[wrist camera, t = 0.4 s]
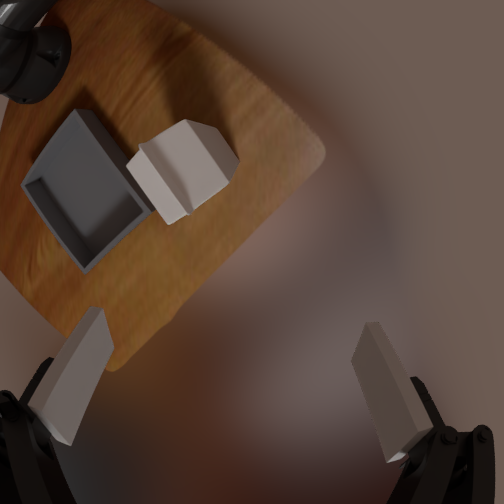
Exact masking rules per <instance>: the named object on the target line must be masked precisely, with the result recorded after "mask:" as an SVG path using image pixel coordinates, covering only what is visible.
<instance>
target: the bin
mask: <svg viewBox="0 0 504 504" xmlns="http://www.w3.org/2000/svg"><path fill="white" fill-rule="evenodd" d="M128 163H129V159H128V158H127V157H126V155H125V154H124V153H123V151H122V150H121V149H120V147H119V146H118V145H117V143H116V142H115V141H114V139H113V138H112V137H111V135H110V134H109V133H108V131H107V130H106V129H105V127H104V126H103V124H102V123H101V122H100V120H99V119H98V118H97V116H96V115H95V113H94V112H93V111H92V110H86V109H74V110H73V111H72V113H71V114H70V115H69V116H68V117H67V119H66V120H65V121H64V122H63V124H62V125H61V126H60V127H59V129H58V130H57V131H56V133H55V134H54V135H53V137H52V138H51V139H50V141H49V142H48V143H47V145H46V146H45V148H44V149H43V151H42V152H41V153H40V155H39V156H38V158H37V159H36V161H35V162H34V164H33V166H32V167H31V169H30V170H29V172H28V174H27V175H26V177H25V178H24V180H23V182H22V184H21V187H22V188H23V190H24V192H25V193H26V195H27V197H28V198H29V200H30V201H31V203H32V204H33V206H34V207H35V209H36V210H37V212H38V213H39V215H40V216H41V218H42V219H43V221H44V222H45V224H46V225H47V226H48V228H49V229H50V231H51V232H52V233H53V235H54V236H55V238H56V239H57V240H58V242H59V243H60V244H61V246H62V247H63V248H64V249H65V251H66V252H67V253H68V255H69V256H70V257H71V258H72V260H73V261H74V262H75V263H76V265H77V266H78V267H79V268H80V269H81V271H82V272H83V273H84V274H85V275H86V274H87V273H88V272H89V271H90V270H91V269H92V268H93V267H94V266H95V265H96V264H97V263H98V262H99V261H100V260H101V259H102V258H103V257H104V256H105V255H106V254H107V253H108V252H109V251H110V250H111V249H112V248H113V247H114V246H115V245H117V244H118V243H119V242H120V241H121V240H122V239H123V238H124V237H125V236H126V235H127V234H128V233H130V232H131V231H132V230H133V229H134V228H135V227H136V226H137V225H138V224H140V223H141V222H142V221H143V220H144V219H145V218H146V217H148V216H149V215H150V214H151V213H152V212H153V211H154V210H156V208H155V207H154V205H153V204H152V202H151V201H150V200H149V198H148V197H147V195H146V194H145V193H144V191H143V190H142V188H141V187H140V186H139V184H138V183H137V181H136V180H135V179H134V177H133V176H132V174H131V173H130V171H129V170H128V168H127V167H126V165H127V164H128Z"/></svg>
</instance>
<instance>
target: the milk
mask: <svg viewBox="0 0 504 504" xmlns="http://www.w3.org/2000/svg"><path fill="white" fill-rule="evenodd" d="M138 146H139V149H140V150H139V151H138V152H137V153H136V154H135V156H134V157H133V158H132V159H131V160H130V161H129V163H128V164H127V165H126V167H127V168H128V170H129V171H130V173H131V174H132V176H133V177H134V179H135V180H136V181H137V183H138V184H139V186H140V187H141V188H142V190H143V191H144V193H145V194H146V195H147V197H148V198H149V200H150V201H151V202H152V204H153V205H154V207H155V208H156V209H157V211H158V212H159V213H160V215H161V216H162V217H163V219H164V220H165V222H166V223H167V224H168V225H170V224H171V223H173V222H175V221H176V220H178V219H180V218H181V217H183V216H185V215H186V214H187V215H190V214H191V213H192V212H193V210H195V209H196V208H197V207H198V206H200V205H201V204H202V203H204V202H205V201H206V200H208V199H209V198H210V197H212V196H213V195H214V194H216V193H217V192H218V191H220V190H221V189H222V188H224V187H225V186H227V185H228V184H229V183H230V181H231V179H232V177H233V175H234V173H235V171H236V169H237V167H238V165H239V163H240V161H239V160H238V158H237V157H236V155H235V154H234V152H233V151H232V149H231V148H230V146H229V145H228V144H227V142H226V141H225V139H224V138H223V136H222V135H221V133H220V132H219V131H218V129H217V128H215V127H212V126H209V125H205V124H202V123H198V122H194V121H191V120H187V119H184V120H182V121H180V122H178V123H177V124H175V125H173V126H172V127H170V128H168V129H167V130H165V131H163V132H162V133H160V134H159V135H157V136H156V137H154V138H152V139H151V140H149V141H148V142H146V143H140V144H139V145H138Z"/></svg>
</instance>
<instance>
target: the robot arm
mask: <svg viewBox="0 0 504 504" xmlns="http://www.w3.org/2000/svg"><path fill="white" fill-rule="evenodd" d="M57 1H58V0H0V94H2V95H4V96H6V97H8V98H9V99H11V100H13V101H15V102H16V103H19V104H35V103H37V102H40V101H41V100H43V99H44V98H46V97H47V96H48V95H49V94H50V93H51V92H52V91H53V90H54V88H55V87H56V86H57V84H58V83H59V81H60V80H61V78H62V76H63V74H64V72H65V70H66V68H67V65H68V62H69V58H70V54H71V40H70V37H69V35H68V33H67V32H66V31H65V30H63V29H61V28H58V27H56V26H41V27H34V26H35V25H36V24H37V23H38V22H39V21H40V19H41V18H42V17H43V16H44V15H45V14H46V13H47V12H48V11H49V10H50V8H51V7H52V6H53V5H54V4H55V3H56V2H57ZM113 350H114V345H113V342H112V339H111V336H110V332H109V329H108V325H107V322H106V318H105V314H104V311H103V308H98V307H92V306H90V308H89V309H88V310H87V312H86V313H85V315H84V316H83V317H82V319H81V320H80V322H79V323H78V324H77V326H76V327H75V329H74V330H73V332H72V333H71V335H70V336H69V338H68V339H67V341H66V342H65V344H64V345H63V347H62V348H61V350H60V351H59V353H58V354H57V356H56V357H55V359H54V358H51V357H49V358H48V359H46V360H45V361H44V362H43V363H42V364H41V365H40V366H39V368H38V370H37V371H36V373H35V374H34V376H33V379H31V381H30V383H29V384H28V386H27V387H26V389H25V391H24V393H23V395H22V396H21V398H20V400H19V401H18V400H17V399H16V397H15V396H14V395H13V394H12V393H11V392H10V391H7V390H2V391H0V504H77V503H76V501H75V499H74V497H73V495H72V493H71V491H70V488H69V486H68V484H67V481H66V479H65V477H64V474H63V472H62V469H61V467H60V464H59V461H58V459H57V456H56V453H55V450H54V447H53V444H52V442H51V440H50V436H51V434H52V435H53V436H54V437H55V438H56V439H57V440H58V441H60V442H62V443H65V444H67V445H70V446H71V445H72V442H73V440H74V437H75V434H76V432H77V429H78V427H79V424H80V422H81V420H82V417H83V415H84V412H85V410H86V408H87V405H88V403H89V401H90V399H91V396H92V394H93V392H94V389H95V387H96V385H97V383H98V381H99V379H100V376H101V374H102V372H103V370H104V368H105V366H106V364H107V362H108V360H109V358H110V356H111V354H112V352H113ZM351 362H352V365H353V367H354V370H355V372H356V375H357V378H358V381H359V383H360V386H361V389H362V391H363V394H364V397H365V400H366V403H367V405H368V408H369V411H370V414H371V417H372V420H373V423H374V426H375V429H376V431H377V434H378V438H379V441H380V444H381V447H382V450H383V453H384V456H385V459H386V462H391V461H394V460H398V459H401V458H402V457H403V456H404V455H406V454H407V453H408V455H409V458H408V459H407V460H406V461H405V462H404V463H403V464H401V466H400V467H399V469H401V468H402V467H404V468H403V471H402V473H401V475H400V477H399V479H398V482H397V484H396V486H395V488H394V490H393V492H392V494H391V495H390V497H389V499H388V501H387V503H386V504H494V498H495V453H494V440H493V434H492V431H491V430H490V428H488V427H487V426H485V425H478V426H477V427H476V428H474V430H473V431H472V432H457V431H456V429H454V428H453V427H451V426H445V424H444V422H443V420H442V418H441V416H440V414H439V412H438V410H437V408H436V406H435V404H434V402H433V400H431V399H432V398H431V396H430V394H428V391H427V389H426V387H425V385H424V383H422V381H421V380H419V379H418V378H417V377H410V378H409V376H408V374H407V372H406V370H405V368H404V367H403V365H402V363H401V361H400V359H399V357H398V355H397V354H396V352H395V350H394V348H393V346H392V344H391V343H390V341H389V339H388V337H387V336H386V334H385V332H384V331H383V329H382V327H381V325H380V324H379V322H371V323H366V324H365V326H364V329H363V332H362V334H361V337H360V340H359V342H358V345H357V347H356V350H355V352H354V355H353V357H352V360H351ZM466 465H467V468H466Z"/></svg>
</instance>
